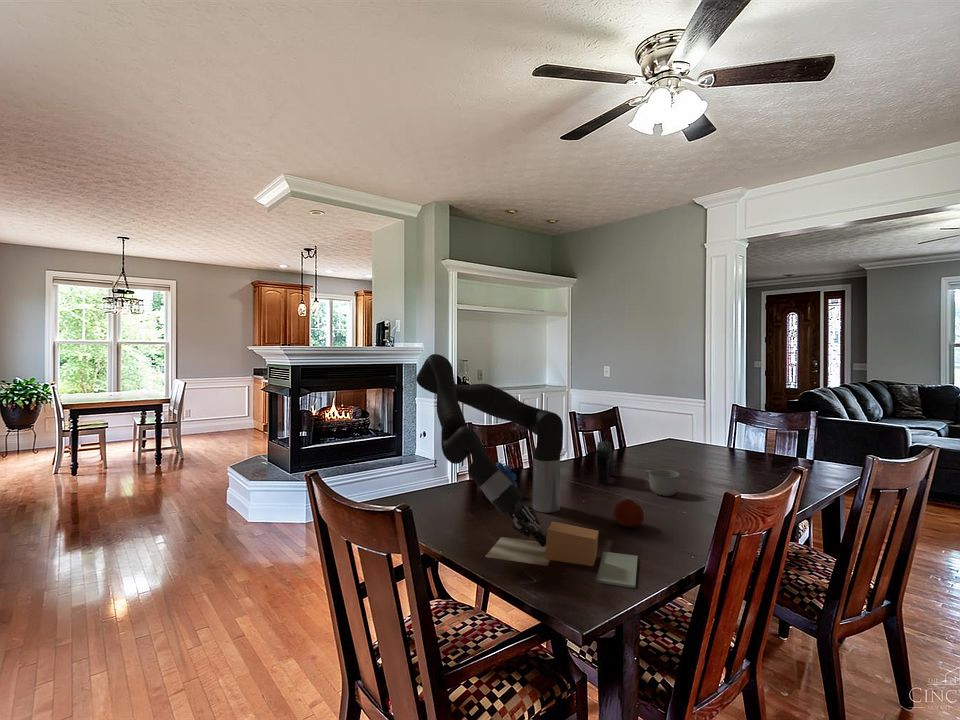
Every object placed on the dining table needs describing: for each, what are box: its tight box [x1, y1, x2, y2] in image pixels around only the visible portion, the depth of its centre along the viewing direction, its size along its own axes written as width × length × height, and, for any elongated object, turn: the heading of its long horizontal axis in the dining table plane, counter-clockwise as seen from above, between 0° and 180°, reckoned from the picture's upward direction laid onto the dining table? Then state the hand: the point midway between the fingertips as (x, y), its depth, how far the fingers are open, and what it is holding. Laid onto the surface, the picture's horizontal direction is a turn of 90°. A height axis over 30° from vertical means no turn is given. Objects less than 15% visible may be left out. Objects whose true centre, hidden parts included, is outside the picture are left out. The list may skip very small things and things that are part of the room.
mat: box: [595, 550, 639, 589], centre depth 123 cm, size 17×20×1 cm
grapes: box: [495, 461, 518, 489], centre depth 183 cm, size 12×7×12 cm, turn 70°
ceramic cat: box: [595, 432, 614, 486], centre depth 204 cm, size 20×6×20 cm, turn 158°
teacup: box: [643, 468, 681, 497], centre depth 186 cm, size 14×11×8 cm
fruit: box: [612, 499, 645, 528], centre depth 151 cm, size 9×9×8 cm
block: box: [545, 521, 600, 567], centre depth 124 cm, size 6×12×8 cm, turn 70°
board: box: [485, 536, 551, 567], centre depth 129 cm, size 14×16×2 cm
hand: (546, 544), depth 126 cm, fingers closed
